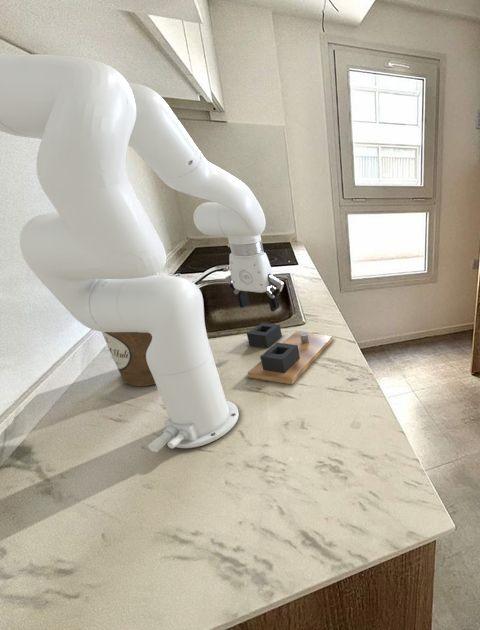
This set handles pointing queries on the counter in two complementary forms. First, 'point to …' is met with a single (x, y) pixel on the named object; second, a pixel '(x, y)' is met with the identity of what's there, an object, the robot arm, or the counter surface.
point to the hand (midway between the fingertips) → (260, 307)
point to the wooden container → (131, 356)
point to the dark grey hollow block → (264, 335)
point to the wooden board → (308, 352)
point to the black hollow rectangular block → (280, 357)
